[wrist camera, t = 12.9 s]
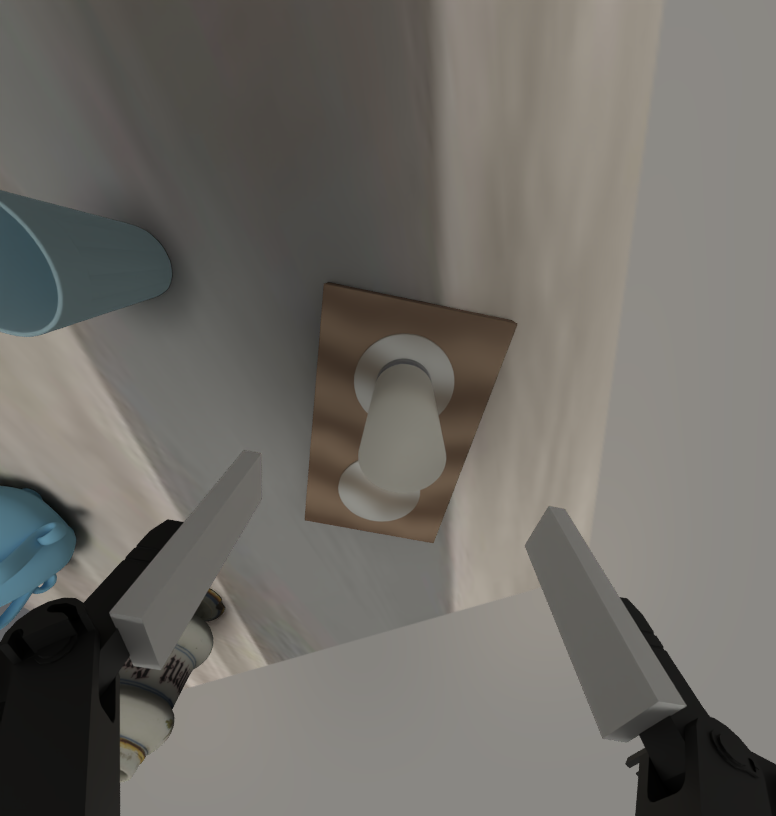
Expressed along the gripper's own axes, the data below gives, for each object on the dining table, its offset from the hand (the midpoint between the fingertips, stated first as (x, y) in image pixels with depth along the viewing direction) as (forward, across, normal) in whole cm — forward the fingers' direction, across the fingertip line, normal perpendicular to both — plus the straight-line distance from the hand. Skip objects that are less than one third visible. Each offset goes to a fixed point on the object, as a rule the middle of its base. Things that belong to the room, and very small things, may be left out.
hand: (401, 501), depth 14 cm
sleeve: (+14, 0, 0) cm, 15 cm away
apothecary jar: (+16, -25, -45) cm, 54 cm away
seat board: (+16, 0, -7) cm, 18 cm away
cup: (+17, -24, +5) cm, 30 cm away
